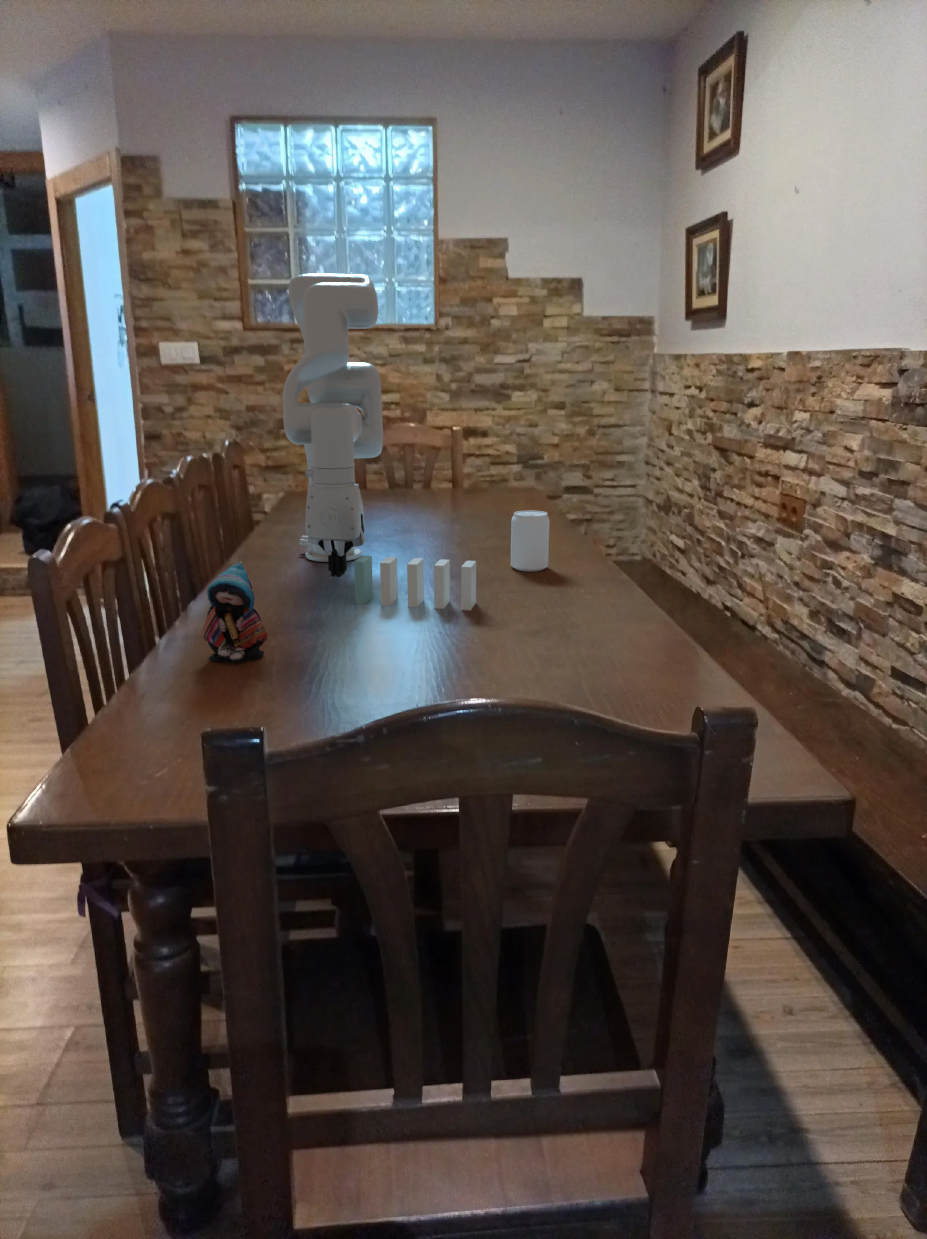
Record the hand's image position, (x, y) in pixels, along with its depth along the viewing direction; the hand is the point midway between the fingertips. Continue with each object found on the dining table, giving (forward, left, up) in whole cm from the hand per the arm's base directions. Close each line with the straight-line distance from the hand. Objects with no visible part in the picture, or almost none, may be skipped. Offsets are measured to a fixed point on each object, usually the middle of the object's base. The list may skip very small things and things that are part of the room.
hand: (337, 574), depth 162 cm
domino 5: (+24, +7, -5) cm, 25 cm away
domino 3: (+14, +4, -5) cm, 16 cm away
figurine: (+6, -36, -5) cm, 36 cm away
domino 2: (+9, +3, -5) cm, 11 cm away
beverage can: (+23, +39, -5) cm, 46 cm away
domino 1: (+5, +1, -5) cm, 7 cm away
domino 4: (+19, +5, -5) cm, 20 cm away
